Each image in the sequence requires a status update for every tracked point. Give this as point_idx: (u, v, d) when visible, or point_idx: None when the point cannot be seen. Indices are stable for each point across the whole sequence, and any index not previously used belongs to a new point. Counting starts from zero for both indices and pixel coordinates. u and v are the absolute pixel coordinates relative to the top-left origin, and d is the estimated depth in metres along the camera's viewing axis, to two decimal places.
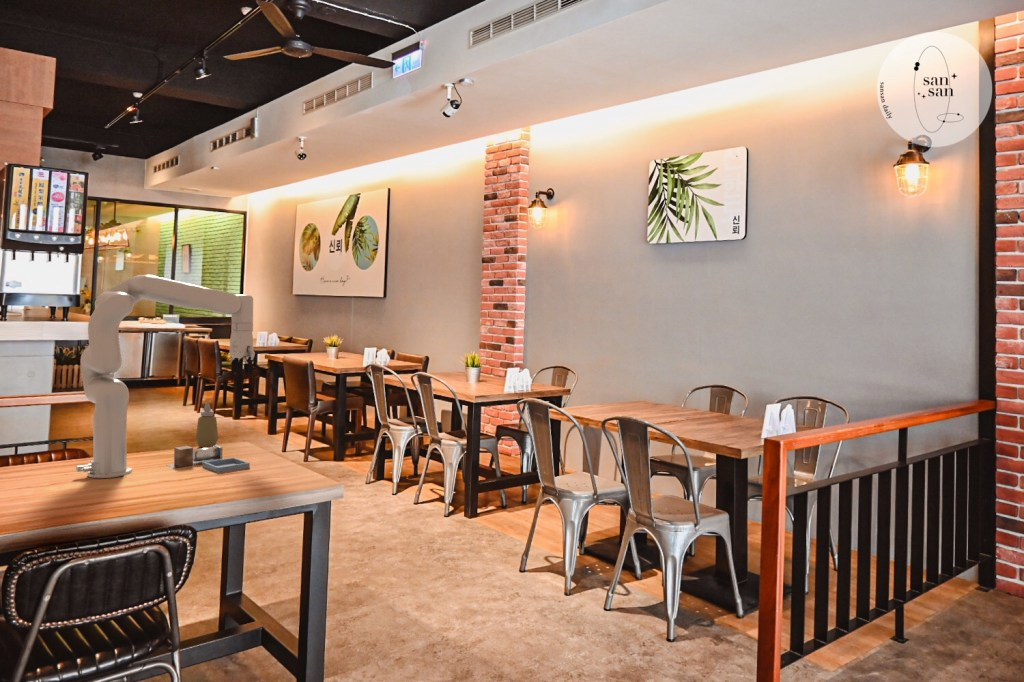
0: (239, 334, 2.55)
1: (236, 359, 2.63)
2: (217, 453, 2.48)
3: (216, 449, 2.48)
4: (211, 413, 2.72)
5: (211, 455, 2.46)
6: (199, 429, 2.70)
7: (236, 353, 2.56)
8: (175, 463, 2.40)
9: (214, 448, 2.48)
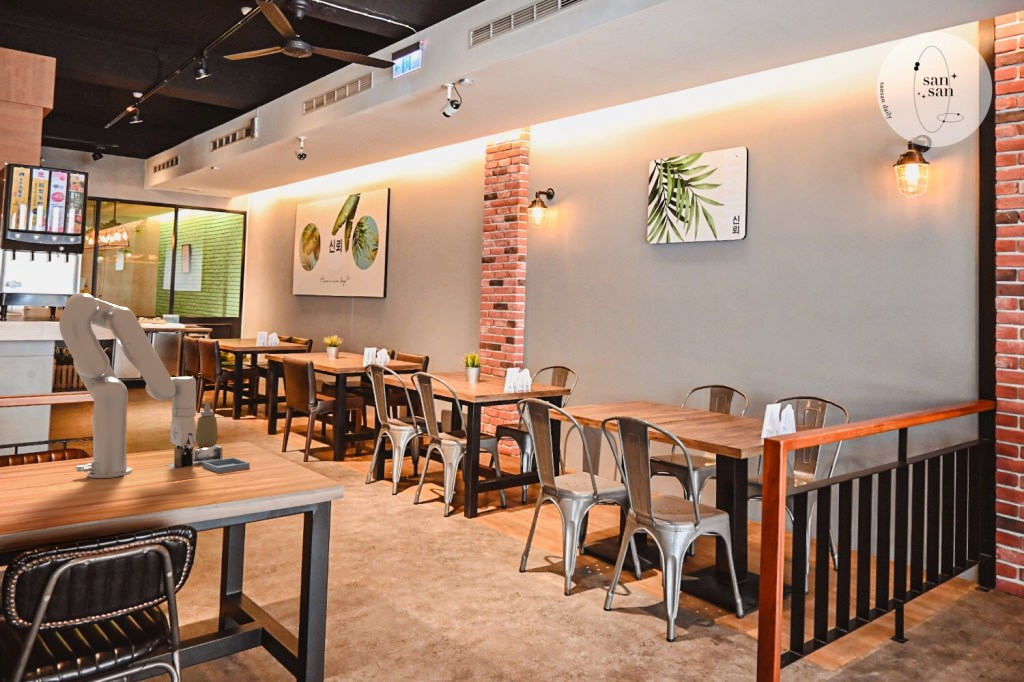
0: (180, 421, 2.37)
1: None
2: (217, 453, 2.48)
3: (216, 449, 2.48)
4: (211, 413, 2.72)
5: (211, 455, 2.46)
6: (199, 429, 2.70)
7: (177, 441, 2.38)
8: (175, 463, 2.40)
9: (214, 448, 2.48)
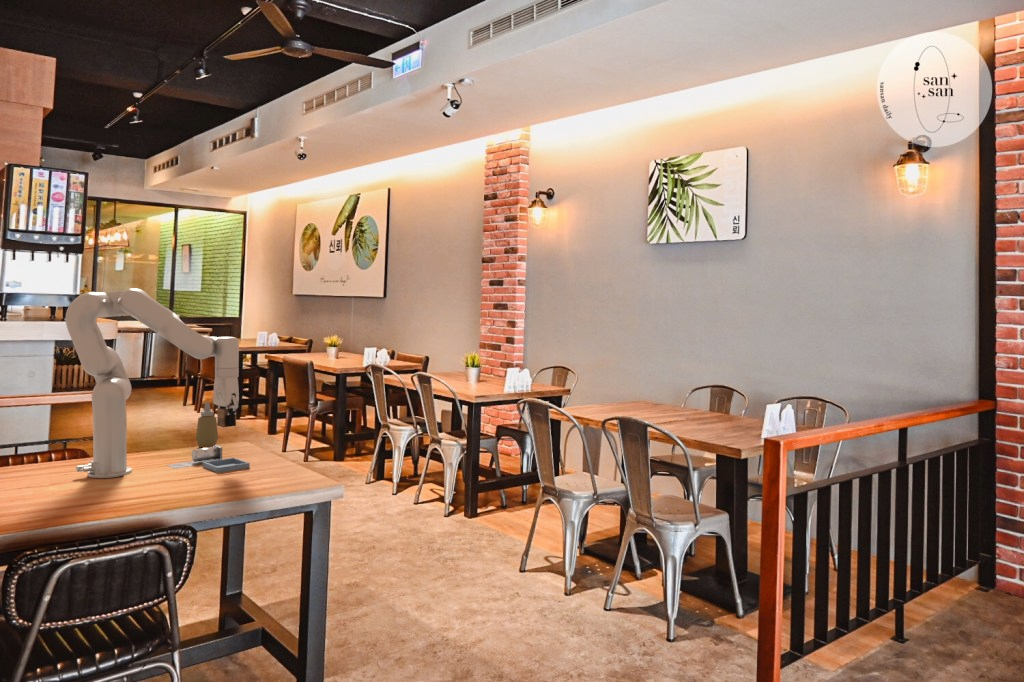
0: (223, 381, 2.34)
1: None
2: (217, 453, 2.48)
3: (216, 449, 2.48)
4: (211, 413, 2.72)
5: (211, 455, 2.46)
6: (199, 429, 2.70)
7: (220, 401, 2.35)
8: (218, 424, 2.38)
9: (214, 448, 2.48)
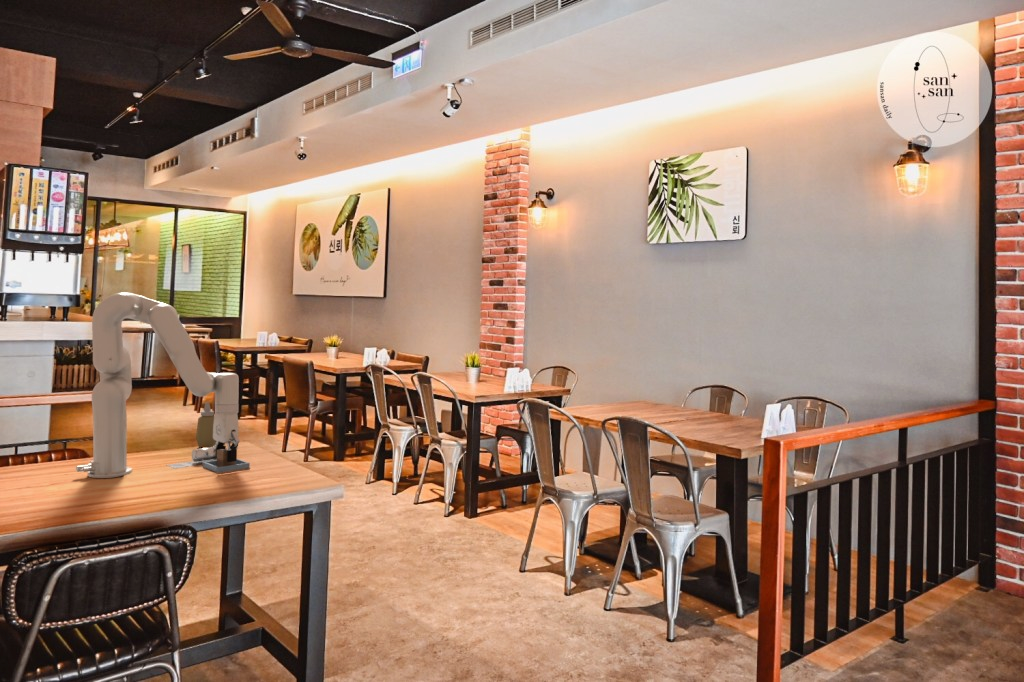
0: (223, 417, 2.35)
1: (221, 443, 2.42)
2: None
3: None
4: (211, 413, 2.72)
5: (211, 455, 2.46)
6: (199, 429, 2.70)
7: (220, 437, 2.36)
8: (218, 465, 2.38)
9: (214, 448, 2.48)
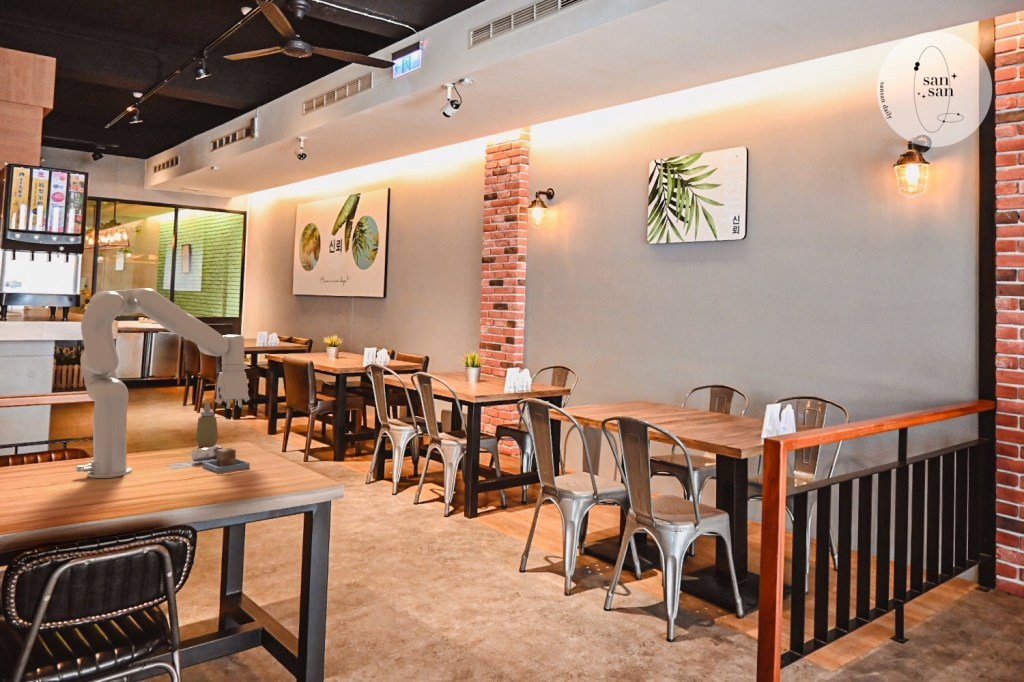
0: None
1: (237, 405, 2.54)
2: None
3: (216, 449, 2.48)
4: (211, 413, 2.72)
5: (211, 455, 2.46)
6: (199, 429, 2.70)
7: None
8: (218, 465, 2.38)
9: (214, 448, 2.48)
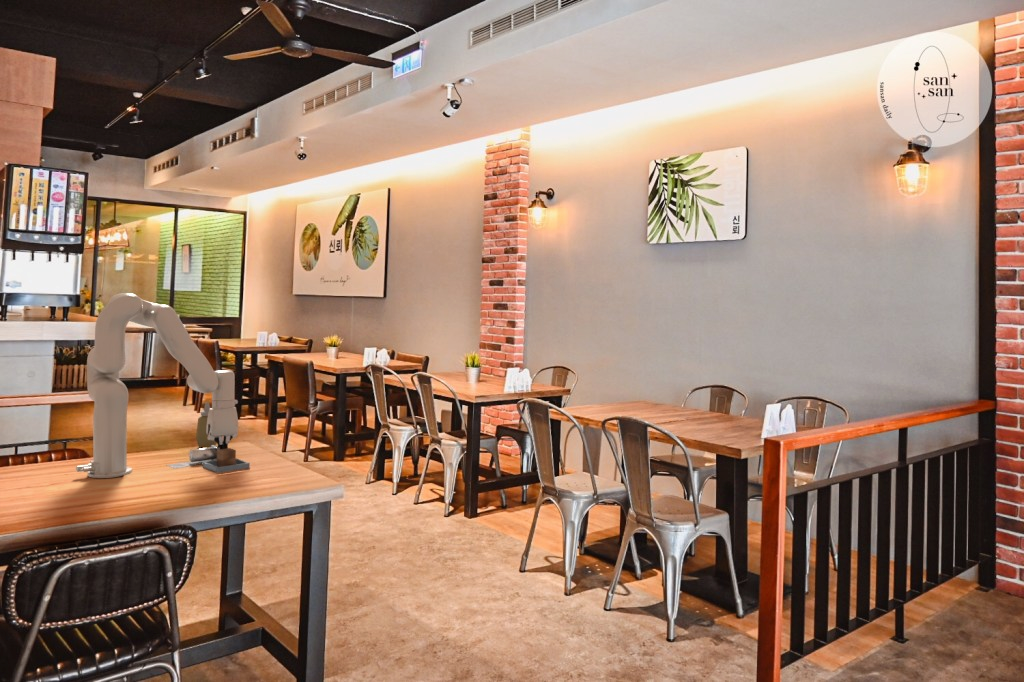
0: None
1: (224, 441, 2.52)
2: (214, 453, 2.47)
3: (213, 449, 2.47)
4: None
5: (209, 455, 2.46)
6: (199, 429, 2.70)
7: None
8: (218, 465, 2.38)
9: (211, 448, 2.47)
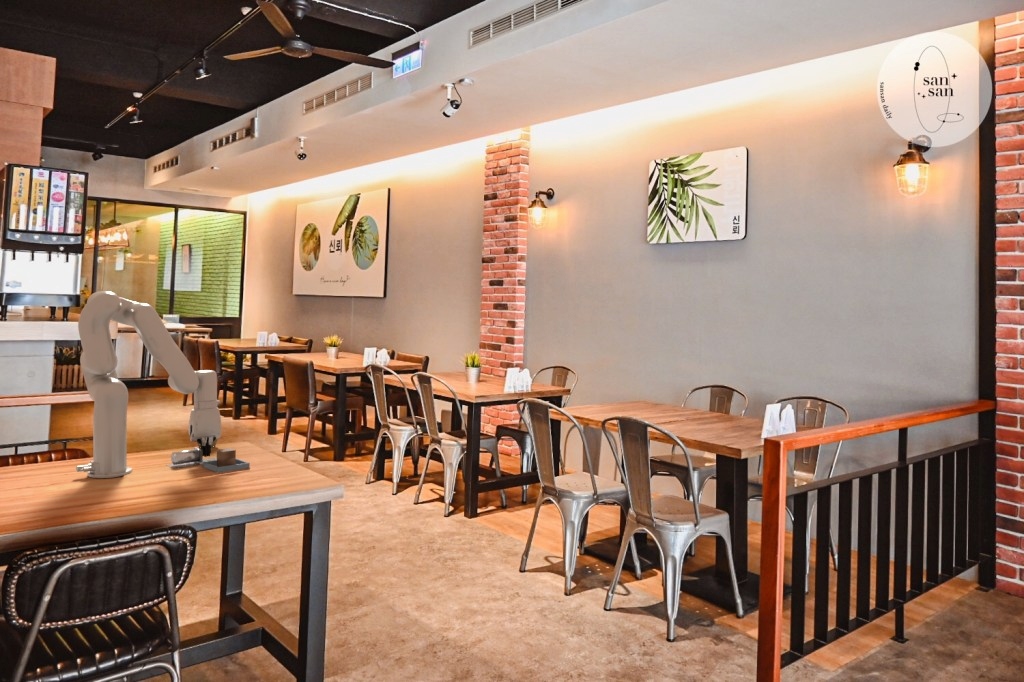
0: None
1: (207, 442, 2.47)
2: (197, 456, 2.43)
3: (196, 452, 2.43)
4: None
5: (191, 457, 2.41)
6: None
7: None
8: (218, 465, 2.38)
9: (194, 451, 2.43)
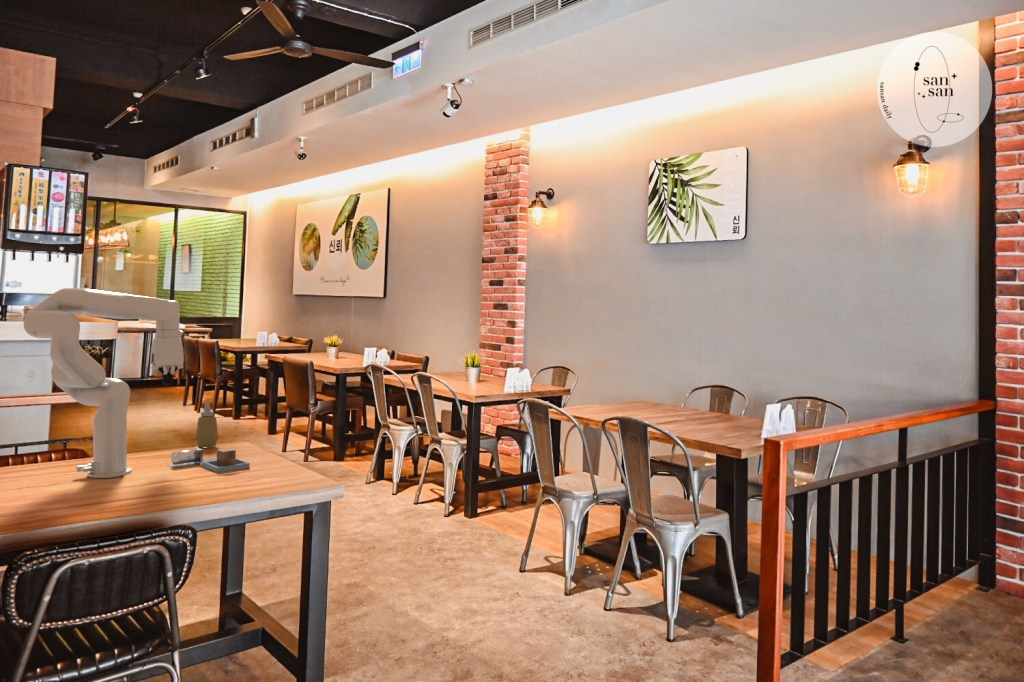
0: None
1: (169, 372, 2.49)
2: (197, 456, 2.43)
3: (196, 452, 2.43)
4: (211, 413, 2.72)
5: (191, 457, 2.41)
6: (199, 429, 2.70)
7: None
8: (218, 465, 2.38)
9: (194, 451, 2.43)
